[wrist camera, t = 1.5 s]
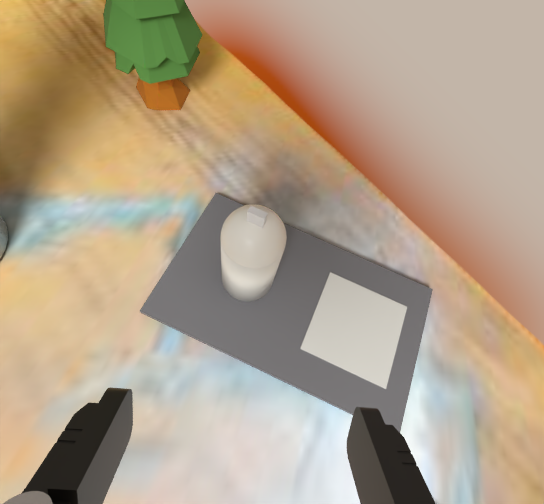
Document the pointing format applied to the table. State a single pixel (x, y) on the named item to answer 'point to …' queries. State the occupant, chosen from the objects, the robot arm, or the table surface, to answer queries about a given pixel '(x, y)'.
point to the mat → (302, 317)
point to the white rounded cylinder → (251, 251)
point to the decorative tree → (154, 47)
